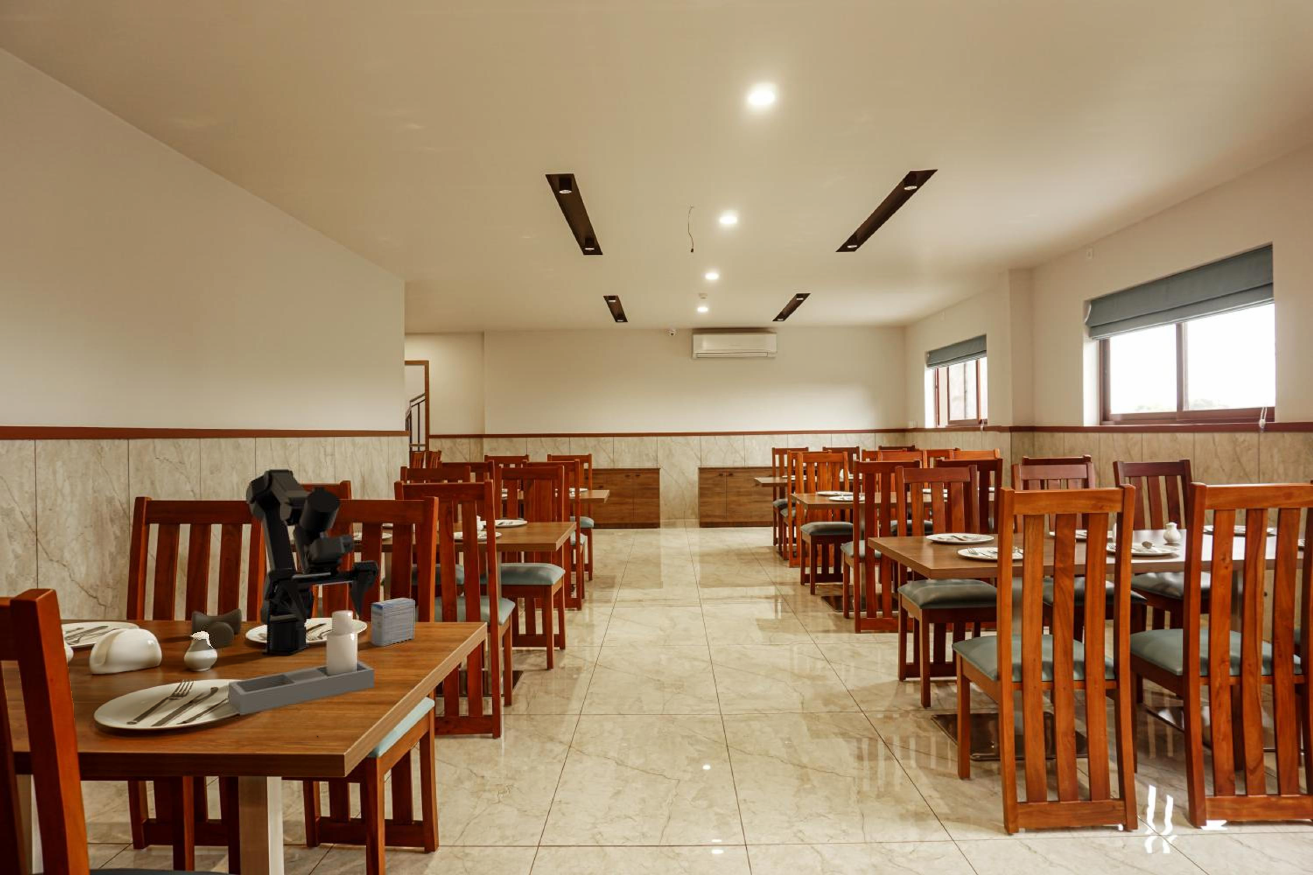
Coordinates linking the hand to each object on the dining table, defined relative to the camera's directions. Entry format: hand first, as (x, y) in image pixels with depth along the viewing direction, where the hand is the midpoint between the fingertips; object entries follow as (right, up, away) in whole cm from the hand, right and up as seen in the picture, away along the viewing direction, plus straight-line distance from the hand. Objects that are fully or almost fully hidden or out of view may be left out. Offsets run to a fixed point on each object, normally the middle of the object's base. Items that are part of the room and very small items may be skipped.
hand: (333, 617), depth 127 cm
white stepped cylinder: (+3, -11, -4) cm, 12 cm away
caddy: (-1, -11, -8) cm, 14 cm away
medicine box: (0, -13, +29) cm, 31 cm away
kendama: (-39, -13, +31) cm, 52 cm away
